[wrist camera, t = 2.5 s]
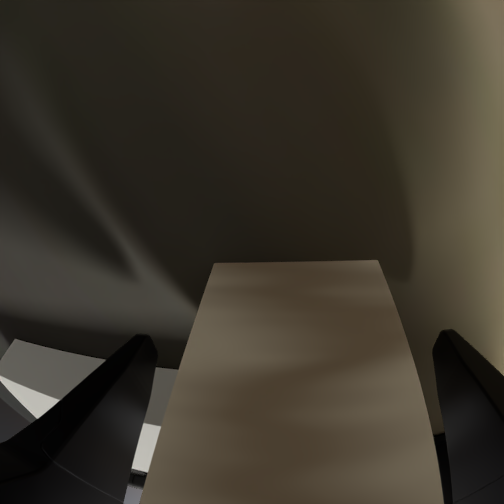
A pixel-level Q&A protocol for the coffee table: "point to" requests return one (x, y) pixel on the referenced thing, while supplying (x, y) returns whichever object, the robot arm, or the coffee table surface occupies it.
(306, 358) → the brown and pink block
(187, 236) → the coffee table surface
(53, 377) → the panel
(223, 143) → the coffee table surface
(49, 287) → the coffee table surface
